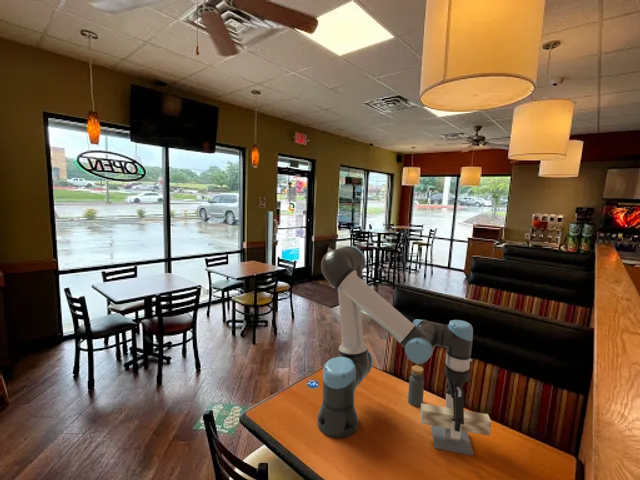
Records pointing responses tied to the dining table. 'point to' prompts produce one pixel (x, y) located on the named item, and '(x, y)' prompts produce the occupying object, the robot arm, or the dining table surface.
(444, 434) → the fulcrum
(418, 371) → the bottle
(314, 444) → the dining table surface
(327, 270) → the robot arm
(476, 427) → the beam
